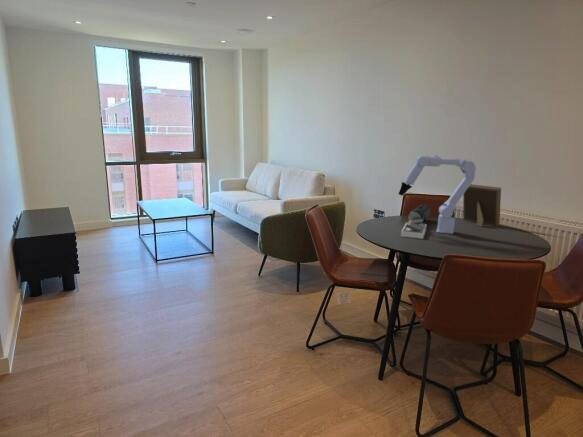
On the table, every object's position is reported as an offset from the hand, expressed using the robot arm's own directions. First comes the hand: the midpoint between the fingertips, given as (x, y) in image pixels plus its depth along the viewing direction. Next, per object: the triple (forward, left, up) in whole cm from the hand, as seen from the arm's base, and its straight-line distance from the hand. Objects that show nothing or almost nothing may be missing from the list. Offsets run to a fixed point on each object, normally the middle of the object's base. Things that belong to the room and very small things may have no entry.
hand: (400, 194), depth 236 cm
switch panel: (-10, +4, -21) cm, 24 cm away
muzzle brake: (-10, -24, -22) cm, 34 cm away
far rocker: (-10, -1, -17) cm, 20 cm away
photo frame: (-46, -39, -22) cm, 64 cm away
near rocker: (-10, +10, -17) cm, 22 cm away
